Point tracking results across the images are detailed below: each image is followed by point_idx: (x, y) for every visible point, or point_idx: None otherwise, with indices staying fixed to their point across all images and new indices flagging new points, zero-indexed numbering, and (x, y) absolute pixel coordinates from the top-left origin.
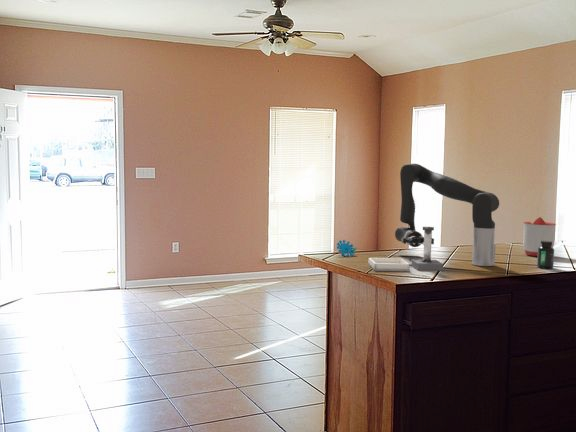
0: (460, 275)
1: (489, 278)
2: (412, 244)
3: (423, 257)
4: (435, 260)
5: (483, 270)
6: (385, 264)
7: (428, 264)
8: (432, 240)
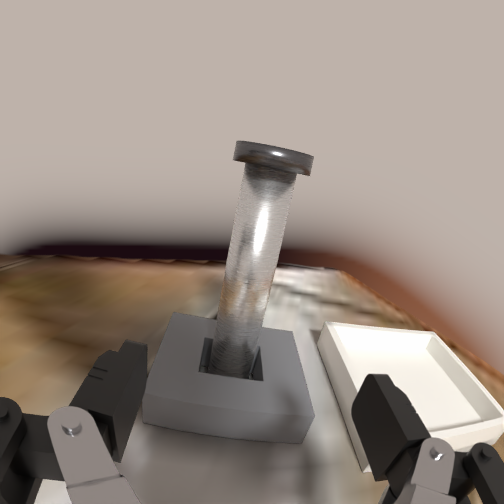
0: (154, 286)
1: (102, 257)
2: (352, 412)
3: (257, 342)
4: (160, 376)
5: (3, 306)
6: (404, 331)
7: None
8: (29, 417)
